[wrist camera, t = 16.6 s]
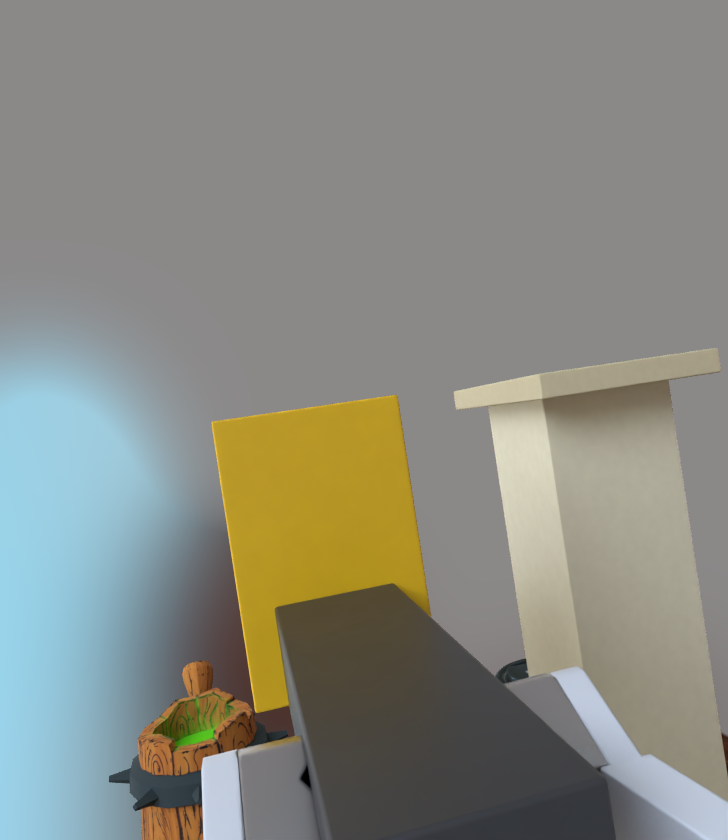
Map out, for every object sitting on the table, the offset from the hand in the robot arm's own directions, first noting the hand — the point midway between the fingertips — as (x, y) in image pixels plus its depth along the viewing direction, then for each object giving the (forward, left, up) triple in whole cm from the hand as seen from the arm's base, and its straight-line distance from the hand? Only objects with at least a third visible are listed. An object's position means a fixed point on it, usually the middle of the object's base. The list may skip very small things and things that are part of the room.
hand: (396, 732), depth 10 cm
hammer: (+4, 0, -2) cm, 5 cm away
